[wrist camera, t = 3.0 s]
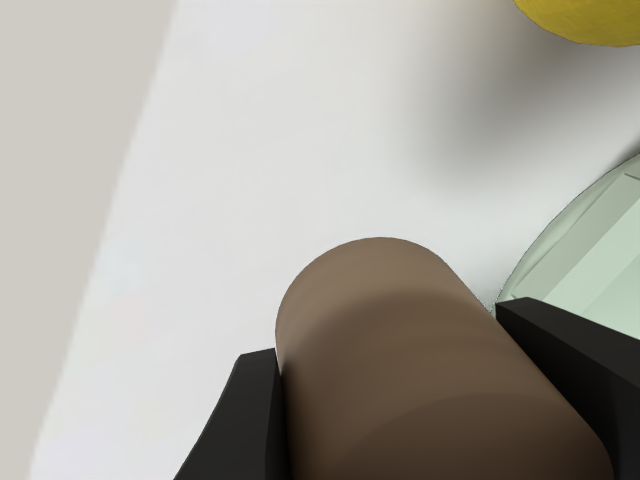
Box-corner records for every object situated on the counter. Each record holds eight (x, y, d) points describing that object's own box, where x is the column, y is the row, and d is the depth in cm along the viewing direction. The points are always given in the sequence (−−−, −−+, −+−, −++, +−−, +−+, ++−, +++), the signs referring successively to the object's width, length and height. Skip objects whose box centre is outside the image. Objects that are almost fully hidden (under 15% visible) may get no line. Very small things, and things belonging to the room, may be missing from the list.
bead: (441, 414, 13) (559, 639, 8) (262, 404, 12) (278, 645, 7) (488, 248, 11) (660, 402, 7) (290, 226, 11) (330, 381, 6)
